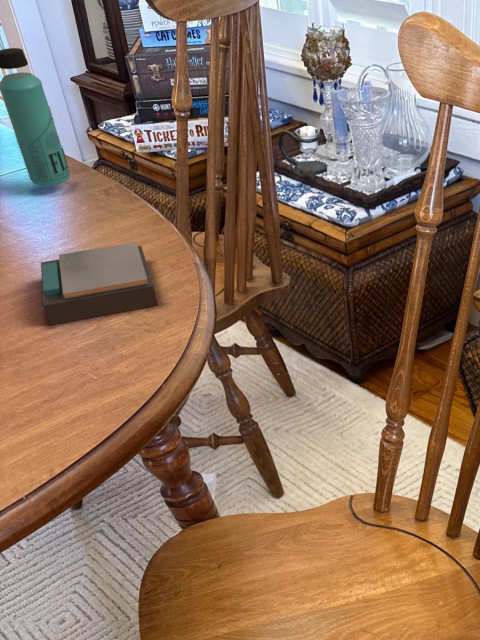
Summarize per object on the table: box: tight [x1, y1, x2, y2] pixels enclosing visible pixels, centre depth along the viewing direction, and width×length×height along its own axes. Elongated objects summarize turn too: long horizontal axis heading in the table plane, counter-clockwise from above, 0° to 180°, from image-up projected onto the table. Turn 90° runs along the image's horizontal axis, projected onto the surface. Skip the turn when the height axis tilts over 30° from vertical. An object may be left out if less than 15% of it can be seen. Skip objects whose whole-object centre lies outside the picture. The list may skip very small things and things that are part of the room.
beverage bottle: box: [0, 47, 71, 187], centre depth 122 cm, size 6×7×20 cm
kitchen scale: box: [40, 241, 159, 326], centre depth 100 cm, size 13×13×3 cm
